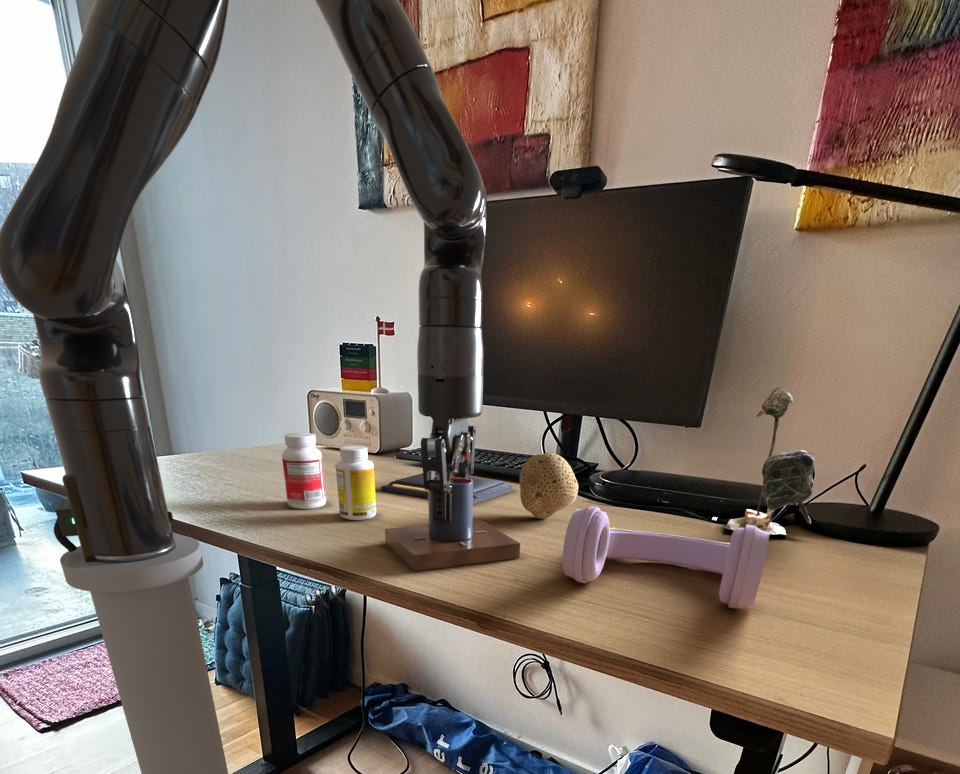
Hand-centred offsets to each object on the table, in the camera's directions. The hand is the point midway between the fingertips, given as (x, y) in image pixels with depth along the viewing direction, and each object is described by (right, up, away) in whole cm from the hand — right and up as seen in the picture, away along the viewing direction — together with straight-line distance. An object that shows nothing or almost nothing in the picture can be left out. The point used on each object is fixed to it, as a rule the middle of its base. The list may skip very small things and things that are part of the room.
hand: (450, 516), depth 76 cm
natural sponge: (+14, +3, +18) cm, 23 cm away
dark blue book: (-2, +12, +35) cm, 37 cm away
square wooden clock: (0, -4, +2) cm, 5 cm away
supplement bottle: (-15, +3, +17) cm, 23 cm away
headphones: (+26, -8, -5) cm, 27 cm away
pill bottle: (-25, +6, +22) cm, 34 cm away
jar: (0, -2, +1) cm, 2 cm away
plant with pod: (+46, 0, +13) cm, 48 cm away
